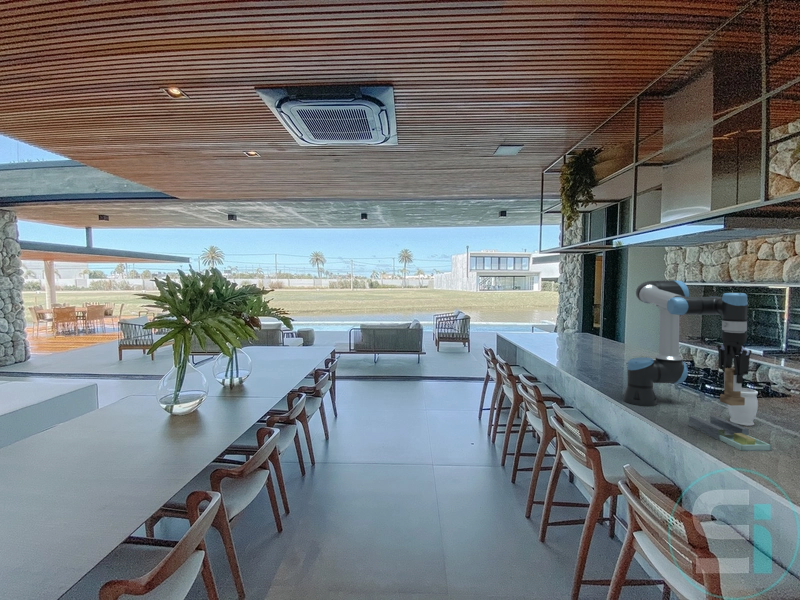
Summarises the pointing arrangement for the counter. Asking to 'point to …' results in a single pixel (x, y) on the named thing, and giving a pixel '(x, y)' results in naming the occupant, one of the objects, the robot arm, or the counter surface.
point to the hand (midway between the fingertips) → (732, 389)
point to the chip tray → (757, 447)
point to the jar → (745, 408)
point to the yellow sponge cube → (747, 440)
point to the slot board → (717, 427)
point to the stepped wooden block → (731, 390)
